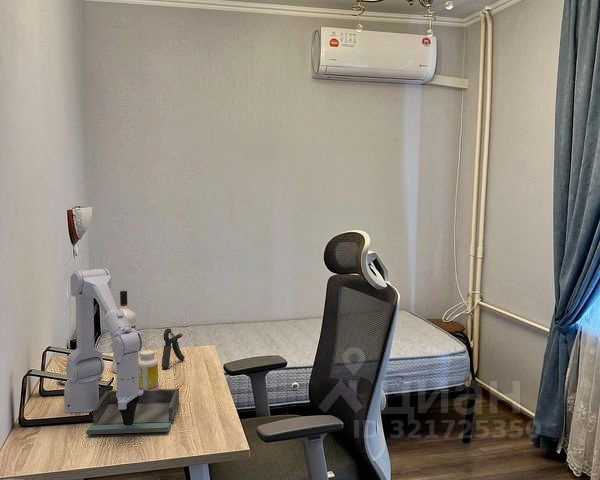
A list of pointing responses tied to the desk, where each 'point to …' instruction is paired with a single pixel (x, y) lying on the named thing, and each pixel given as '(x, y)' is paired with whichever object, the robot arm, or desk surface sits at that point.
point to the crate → (139, 407)
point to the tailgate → (128, 428)
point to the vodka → (129, 315)
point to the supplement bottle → (148, 370)
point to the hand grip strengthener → (168, 348)
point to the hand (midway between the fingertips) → (128, 424)
